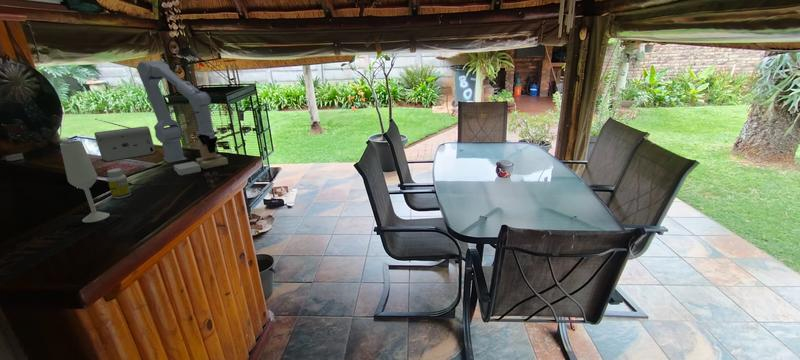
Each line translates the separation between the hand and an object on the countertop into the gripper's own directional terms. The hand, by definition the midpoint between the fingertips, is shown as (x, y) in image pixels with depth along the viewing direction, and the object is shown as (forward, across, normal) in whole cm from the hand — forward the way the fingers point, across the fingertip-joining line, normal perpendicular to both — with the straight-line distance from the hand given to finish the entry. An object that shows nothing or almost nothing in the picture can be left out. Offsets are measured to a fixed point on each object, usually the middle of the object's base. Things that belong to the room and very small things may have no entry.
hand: (210, 151), depth 158 cm
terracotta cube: (+2, 0, -1) cm, 2 cm away
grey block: (+6, +3, -11) cm, 13 cm away
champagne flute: (+6, +31, -45) cm, 55 cm away
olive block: (+6, 0, 0) cm, 6 cm away
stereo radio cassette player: (+6, -40, -24) cm, 47 cm away
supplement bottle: (+6, +16, -36) cm, 40 cm away
